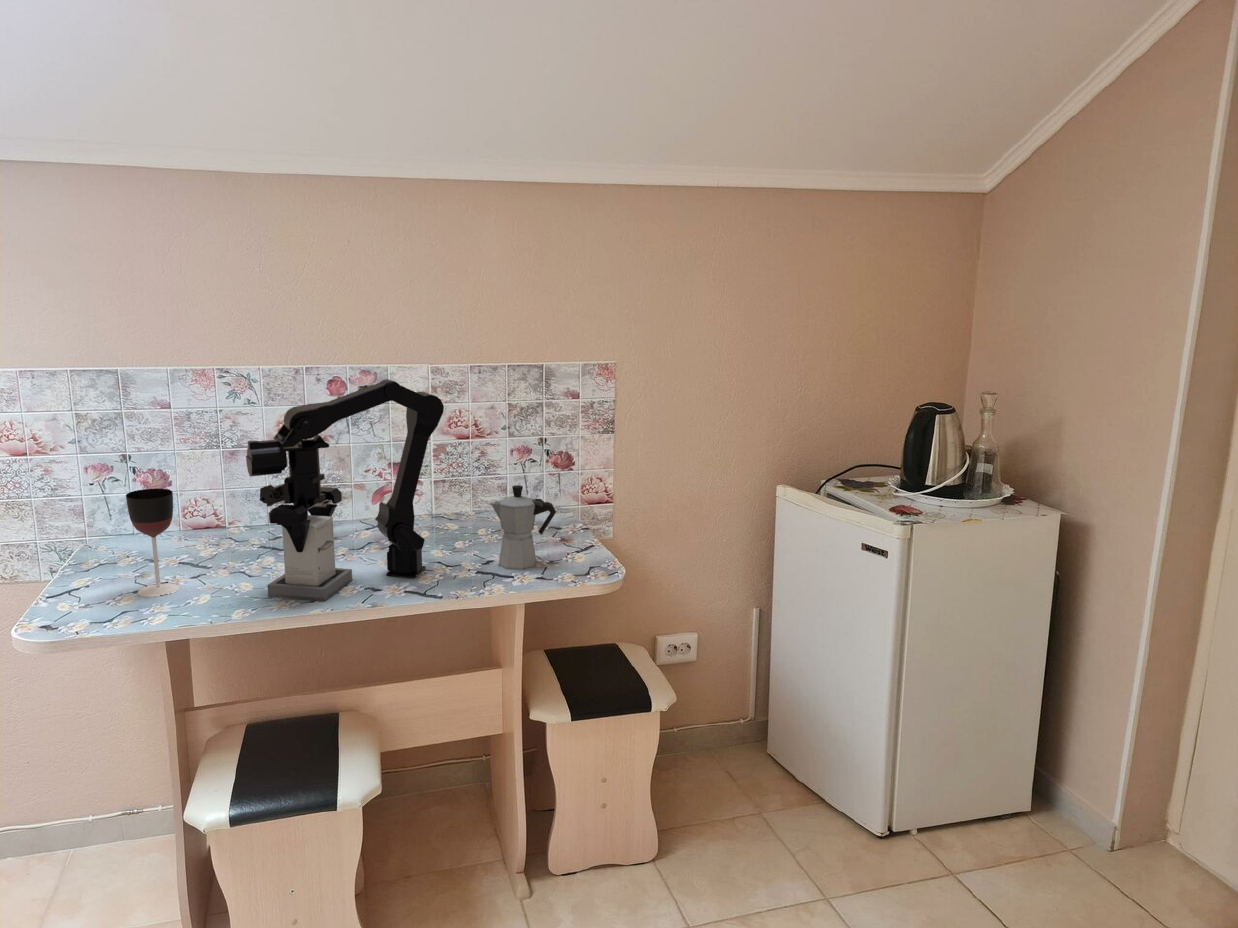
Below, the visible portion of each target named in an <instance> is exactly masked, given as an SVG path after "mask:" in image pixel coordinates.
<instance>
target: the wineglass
mask: <svg viewBox="0 0 1238 928" xmlns="http://www.w3.org/2000/svg"><path fill="white" fill-rule="evenodd" d="M125 499H126V506H127V512H128V515H129V519H130V522H131V525H133V527H134V528H135V529H136V531H137V532H139V533H141V534H144V535H145V536H146V535H147V536H148V537H151V545H152V555H153V556H152V557H153V566H154V575H155V577H154V578H155V584H151V585H148V586H145V587H143V588H140V589H139V590H138V591H137V595H138V596H140V597H144V598H156V597H157V598H158V597H161V596H160V595H164V594H168V595H171V594H173V593H175V592H178V591H179V590H180V589H181V588H180V585H178V584H175V583H170V582H169V583H161V576H160V566H159V555H158V546H157V545H158V543H157V536H159V535H160V534H162V533H164V532H165V531H167V529H168V528H169V527H170V526H171V523H172V521H173V515H174V495H173V491H172V490H171V489H168V488H144V489H143V488H142V489H137V490H133V491H130V492H128V493H126V494H125ZM177 590H178V591H177ZM170 593H171V594H170ZM155 596H156V597H155ZM164 596H165V595H164Z"/></svg>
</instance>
